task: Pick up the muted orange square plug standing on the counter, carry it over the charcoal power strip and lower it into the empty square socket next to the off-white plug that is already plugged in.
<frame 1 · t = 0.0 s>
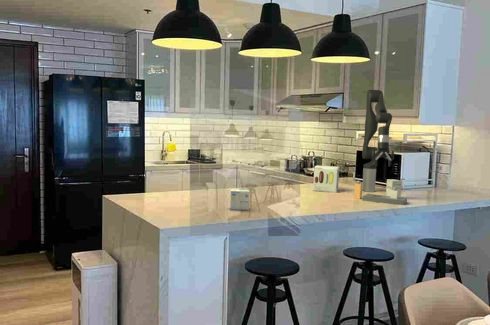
hand: (382, 166, 324), 22 cm above the table, tool pointing down, fingers open, 8 cm apart
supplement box: (393, 198, 333), on the table
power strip: (384, 201, 317), on the table
light bulb box: (239, 209, 274), on the table
supplement box 2: (325, 191, 357), on the table
orange plug: (357, 198, 326), on the table
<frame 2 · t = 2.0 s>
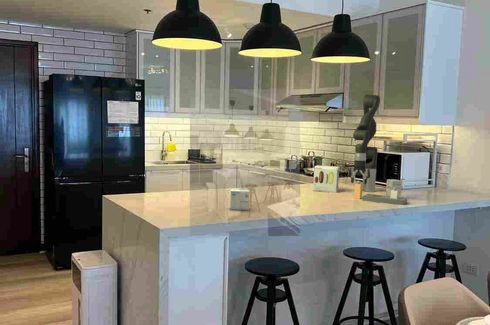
hand: (358, 183, 324), 10 cm above the table, tool pointing down, fingers open, 8 cm apart
nothing on the table moved.
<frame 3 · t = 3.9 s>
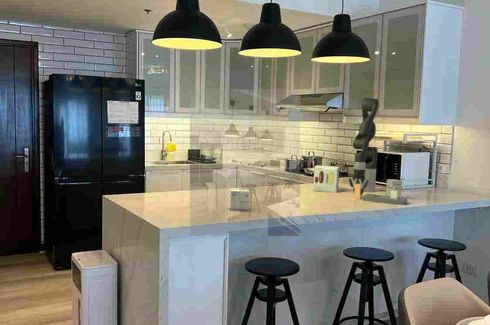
hand: (358, 193, 325), 3 cm above the table, tool pointing down, fingers closed on orange plug, 4 cm apart
orange plug: (357, 198, 326), on the table, touching gripper
everything else where it was.
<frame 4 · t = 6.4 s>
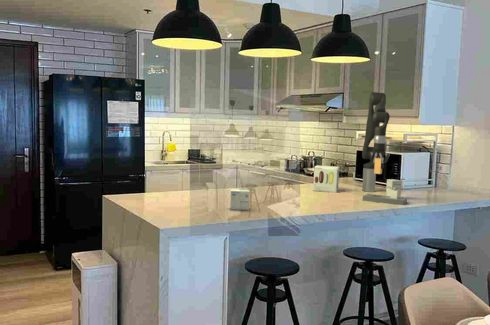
hand: (378, 168, 317), 21 cm above the table, tool pointing down, fingers closed on orange plug, 4 cm apart
orange plug: (378, 173, 317), point 18 cm above the table, touching gripper
everything else where it was.
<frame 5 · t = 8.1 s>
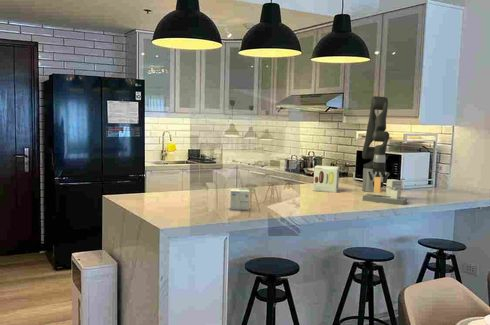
hand: (377, 187, 318), 9 cm above the table, tool pointing down, fingers closed on orange plug, 4 cm apart
orange plug: (377, 192, 319), point 6 cm above the table, touching gripper
everything else where it was.
when the fingers open (4 cm above the table, at t = 9.4 s): orange plug stays where it is, resting in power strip.
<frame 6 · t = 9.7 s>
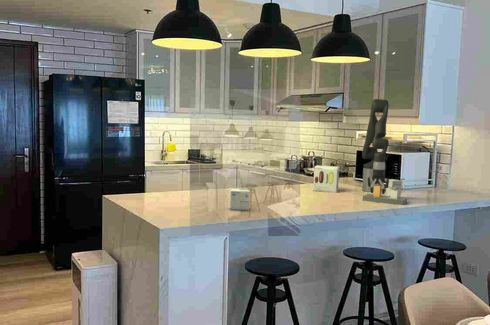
hand: (377, 193, 319), 5 cm above the table, tool pointing down, fingers open, 6 cm apart
orange plug: (376, 200, 319), resting in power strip
everything else where it was.
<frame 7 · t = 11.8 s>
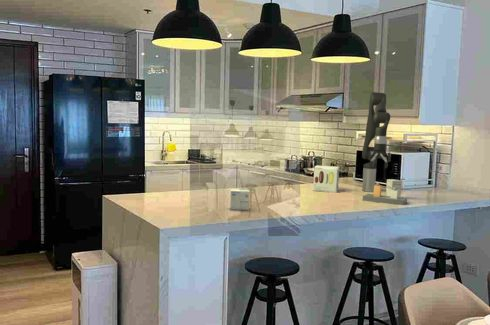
hand: (378, 167, 317), 22 cm above the table, tool pointing down, fingers open, 8 cm apart
nothing on the table moved.
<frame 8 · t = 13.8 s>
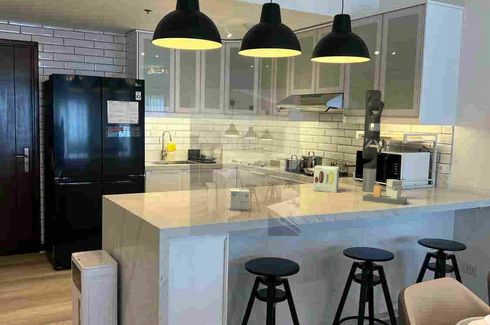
hand: (373, 153, 328), 30 cm above the table, tool pointing down, fingers open, 8 cm apart
nothing on the table moved.
at the end: orange plug 0.1 cm from the target spot on the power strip, point 0.0 cm above the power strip's base; orange plug tilted 0°; the gripper is holding nothing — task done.
